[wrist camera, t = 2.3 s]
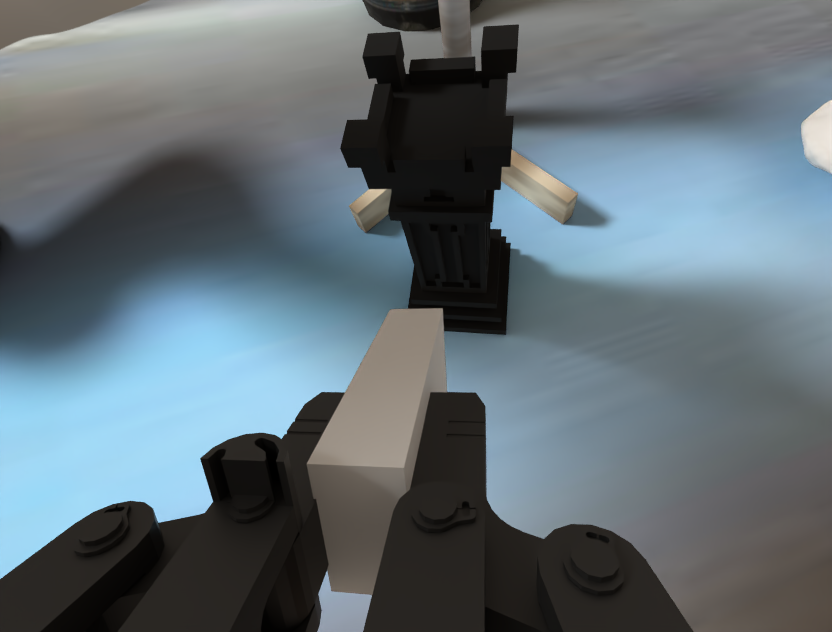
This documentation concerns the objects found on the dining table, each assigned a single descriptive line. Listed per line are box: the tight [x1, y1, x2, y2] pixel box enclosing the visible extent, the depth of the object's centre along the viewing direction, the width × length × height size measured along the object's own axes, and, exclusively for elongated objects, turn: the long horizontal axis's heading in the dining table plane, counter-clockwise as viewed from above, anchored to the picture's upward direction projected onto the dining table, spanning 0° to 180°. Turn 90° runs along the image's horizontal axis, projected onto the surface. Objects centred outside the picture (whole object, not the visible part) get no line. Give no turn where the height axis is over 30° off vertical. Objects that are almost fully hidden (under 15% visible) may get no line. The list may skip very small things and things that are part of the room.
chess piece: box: [340, 25, 519, 335], centre depth 29 cm, size 8×8×20 cm
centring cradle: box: [349, 0, 578, 233], centre depth 31 cm, size 19×17×26 cm
